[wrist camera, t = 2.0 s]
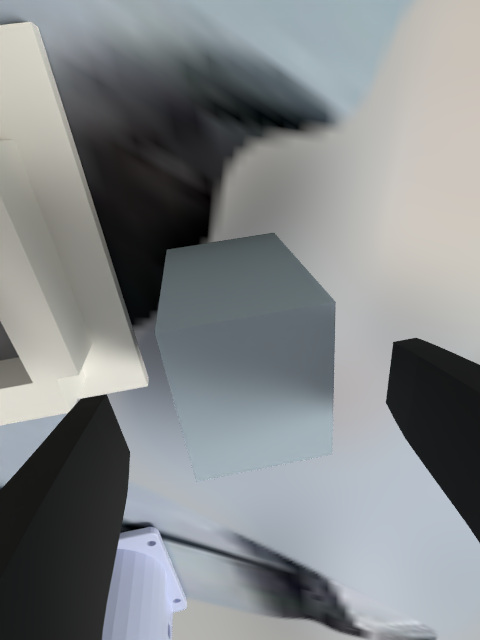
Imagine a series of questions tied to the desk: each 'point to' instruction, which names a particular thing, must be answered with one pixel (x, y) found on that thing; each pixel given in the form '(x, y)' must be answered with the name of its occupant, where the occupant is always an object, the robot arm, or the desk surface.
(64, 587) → the robot arm
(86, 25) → the desk surface
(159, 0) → the desk surface
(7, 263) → the socket plate
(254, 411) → the plug block
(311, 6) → the desk surface
